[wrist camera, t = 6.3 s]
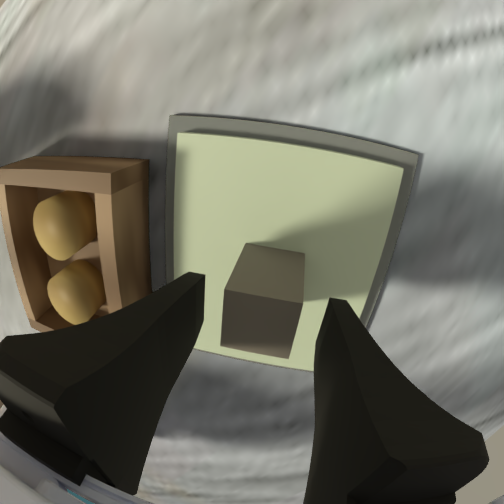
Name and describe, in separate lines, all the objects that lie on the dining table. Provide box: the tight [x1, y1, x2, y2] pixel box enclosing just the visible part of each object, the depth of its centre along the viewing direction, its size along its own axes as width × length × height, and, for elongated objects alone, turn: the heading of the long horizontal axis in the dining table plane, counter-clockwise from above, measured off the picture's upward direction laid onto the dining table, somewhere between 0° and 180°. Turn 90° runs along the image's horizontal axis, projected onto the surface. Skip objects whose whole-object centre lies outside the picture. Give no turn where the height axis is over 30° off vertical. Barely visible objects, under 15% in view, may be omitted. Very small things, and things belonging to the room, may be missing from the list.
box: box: [0, 156, 152, 332], centre depth 13 cm, size 10×8×3 cm
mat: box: [165, 115, 419, 372], centre depth 13 cm, size 12×10×1 cm
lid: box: [174, 132, 404, 371], centre depth 11 cm, size 11×9×4 cm
